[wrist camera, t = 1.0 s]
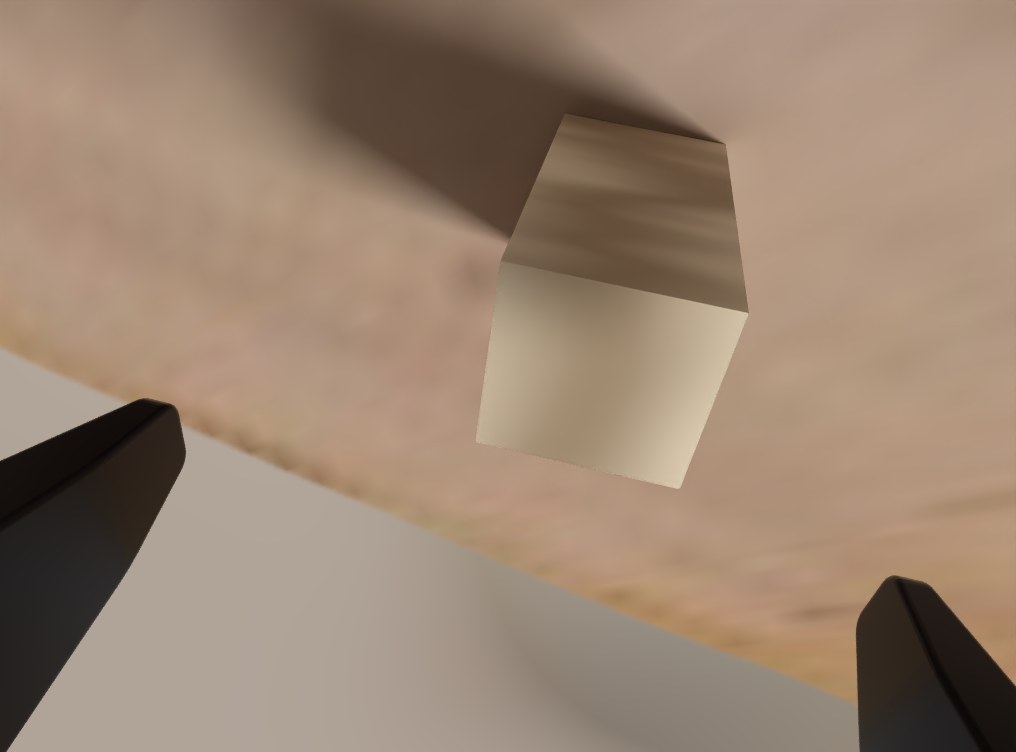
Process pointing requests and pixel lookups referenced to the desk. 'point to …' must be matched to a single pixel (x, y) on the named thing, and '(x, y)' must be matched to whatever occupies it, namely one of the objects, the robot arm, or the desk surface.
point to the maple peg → (616, 303)
